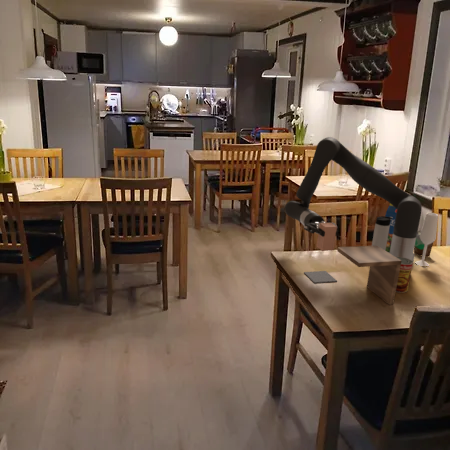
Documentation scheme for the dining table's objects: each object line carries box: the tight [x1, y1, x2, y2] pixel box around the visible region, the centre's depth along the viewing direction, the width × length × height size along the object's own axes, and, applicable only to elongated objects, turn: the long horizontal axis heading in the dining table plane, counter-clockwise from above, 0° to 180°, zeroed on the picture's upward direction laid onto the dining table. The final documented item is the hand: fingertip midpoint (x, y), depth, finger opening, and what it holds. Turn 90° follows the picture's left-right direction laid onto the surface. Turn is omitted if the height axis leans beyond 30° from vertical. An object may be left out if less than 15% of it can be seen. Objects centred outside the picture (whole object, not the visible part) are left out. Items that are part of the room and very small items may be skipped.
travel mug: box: [371, 215, 392, 250], centre depth 209 cm, size 6×7×20 cm
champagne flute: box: [414, 212, 439, 267], centre depth 204 cm, size 7×7×24 cm
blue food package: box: [384, 203, 397, 253], centre depth 218 cm, size 6×12×25 cm, turn 48°
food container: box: [413, 229, 434, 257], centre depth 220 cm, size 12×6×10 cm, turn 5°
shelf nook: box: [336, 245, 401, 306], centre depth 169 cm, size 17×16×18 cm
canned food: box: [396, 257, 414, 293], centre depth 179 cm, size 8×8×12 cm
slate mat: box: [303, 270, 338, 284], centre depth 187 cm, size 10×10×1 cm
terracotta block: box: [316, 222, 338, 252], centre depth 181 cm, size 5×5×10 cm
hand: (330, 233), depth 178 cm, fingers closed on terracotta block, 5 cm apart
